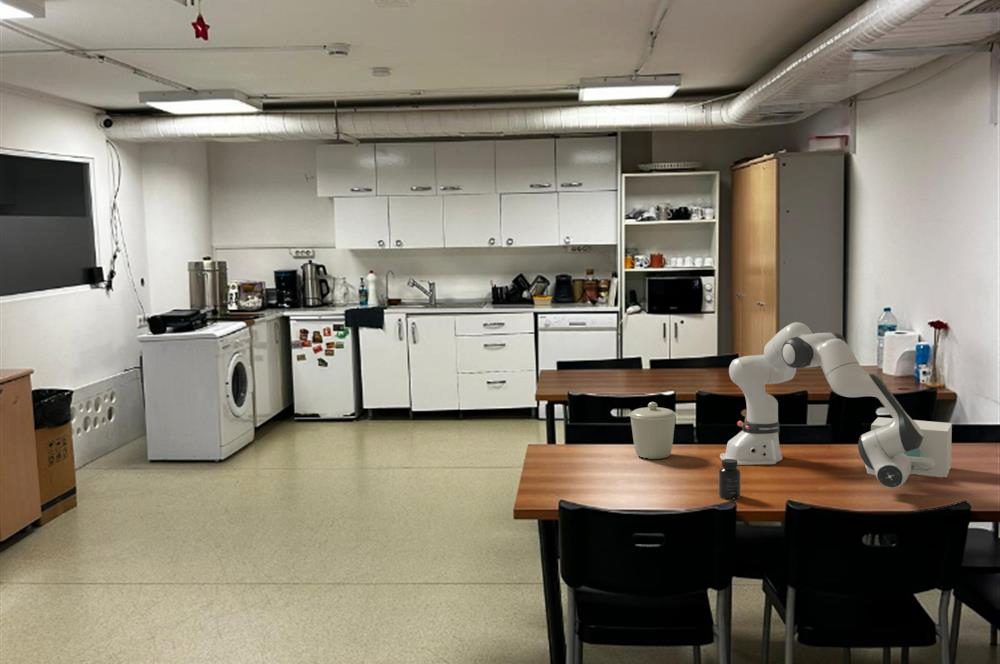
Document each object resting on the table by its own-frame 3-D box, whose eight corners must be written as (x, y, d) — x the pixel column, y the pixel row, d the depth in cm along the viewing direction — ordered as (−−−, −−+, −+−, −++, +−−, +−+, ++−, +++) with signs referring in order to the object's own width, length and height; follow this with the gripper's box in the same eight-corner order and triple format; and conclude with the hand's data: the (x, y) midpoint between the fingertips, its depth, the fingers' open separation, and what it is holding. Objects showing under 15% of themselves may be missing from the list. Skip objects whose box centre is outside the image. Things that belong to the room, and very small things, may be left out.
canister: (674, 463, 325) (673, 407, 322) (625, 461, 331) (624, 406, 328) (680, 451, 342) (679, 398, 339) (633, 449, 348) (633, 397, 345)
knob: (919, 467, 294) (920, 440, 293) (890, 464, 299) (890, 438, 298) (924, 457, 306) (925, 432, 305) (896, 454, 310) (897, 429, 309)
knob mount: (946, 477, 296) (947, 431, 294) (870, 469, 309) (871, 424, 307) (950, 467, 308) (951, 423, 306) (877, 460, 321) (877, 417, 319)
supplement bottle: (715, 494, 286) (715, 458, 285) (736, 493, 287) (736, 457, 285) (722, 500, 279) (722, 463, 278) (743, 499, 280) (743, 462, 279)
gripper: (933, 459, 269) (937, 450, 281) (861, 453, 280) (868, 445, 291) (933, 479, 270) (936, 470, 281) (861, 473, 280) (868, 464, 292)
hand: (901, 457), depth 287 cm, fingers closed
